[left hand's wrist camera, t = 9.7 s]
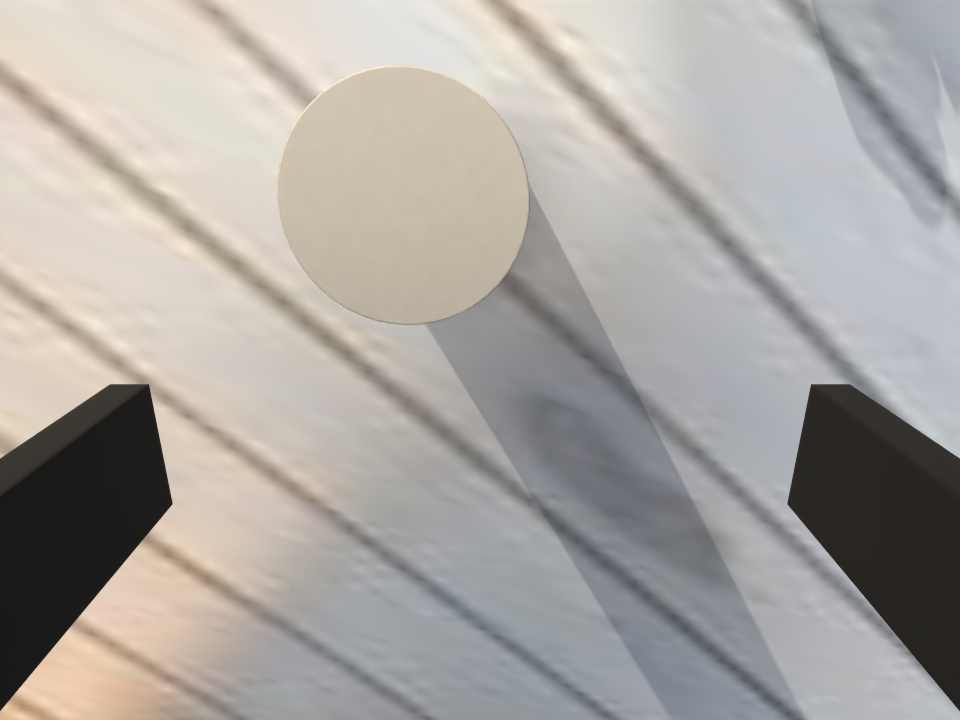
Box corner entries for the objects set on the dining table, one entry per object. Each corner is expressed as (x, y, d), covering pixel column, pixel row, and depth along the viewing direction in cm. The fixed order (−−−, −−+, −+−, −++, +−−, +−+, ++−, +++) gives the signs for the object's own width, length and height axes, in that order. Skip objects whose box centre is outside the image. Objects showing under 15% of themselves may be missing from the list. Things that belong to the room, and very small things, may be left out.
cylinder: (519, 253, 28) (537, 314, 19) (361, 268, 28) (303, 335, 19) (507, 78, 25) (520, 51, 16) (333, 96, 26) (251, 79, 17)
